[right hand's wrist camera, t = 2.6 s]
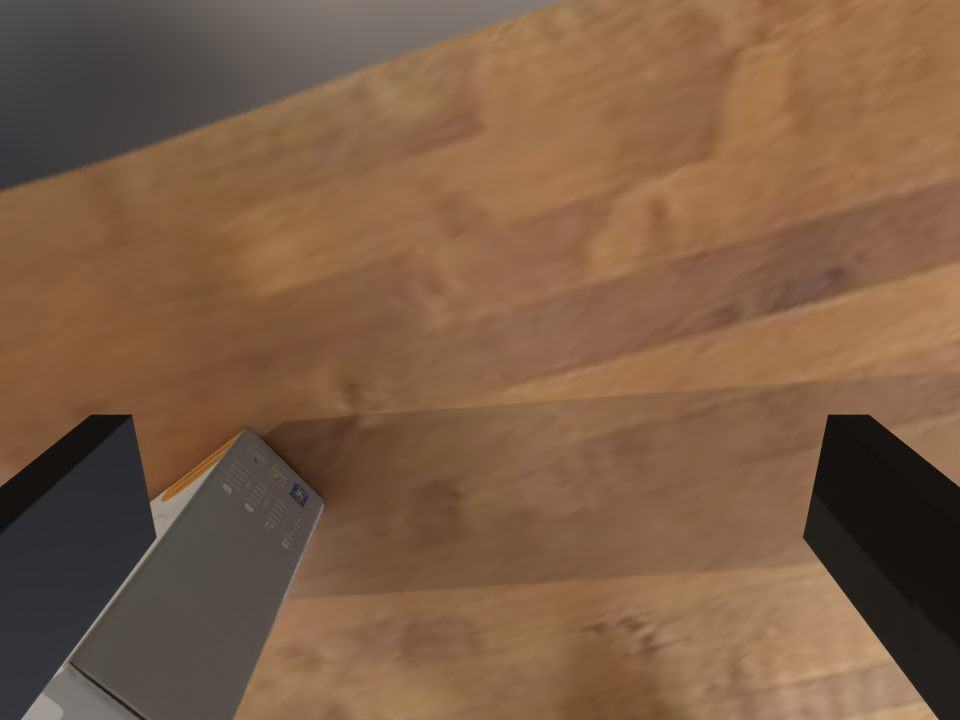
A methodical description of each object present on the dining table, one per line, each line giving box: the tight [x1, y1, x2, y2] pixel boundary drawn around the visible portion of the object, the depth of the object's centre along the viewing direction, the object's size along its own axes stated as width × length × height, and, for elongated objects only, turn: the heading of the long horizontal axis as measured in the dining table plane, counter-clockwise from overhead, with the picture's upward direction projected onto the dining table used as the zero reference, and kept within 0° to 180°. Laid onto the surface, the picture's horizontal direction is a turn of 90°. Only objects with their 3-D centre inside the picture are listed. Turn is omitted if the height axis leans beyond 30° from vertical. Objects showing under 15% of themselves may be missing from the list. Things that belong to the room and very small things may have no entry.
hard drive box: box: [21, 428, 324, 720], centre depth 37 cm, size 16×8×20 cm, turn 128°
